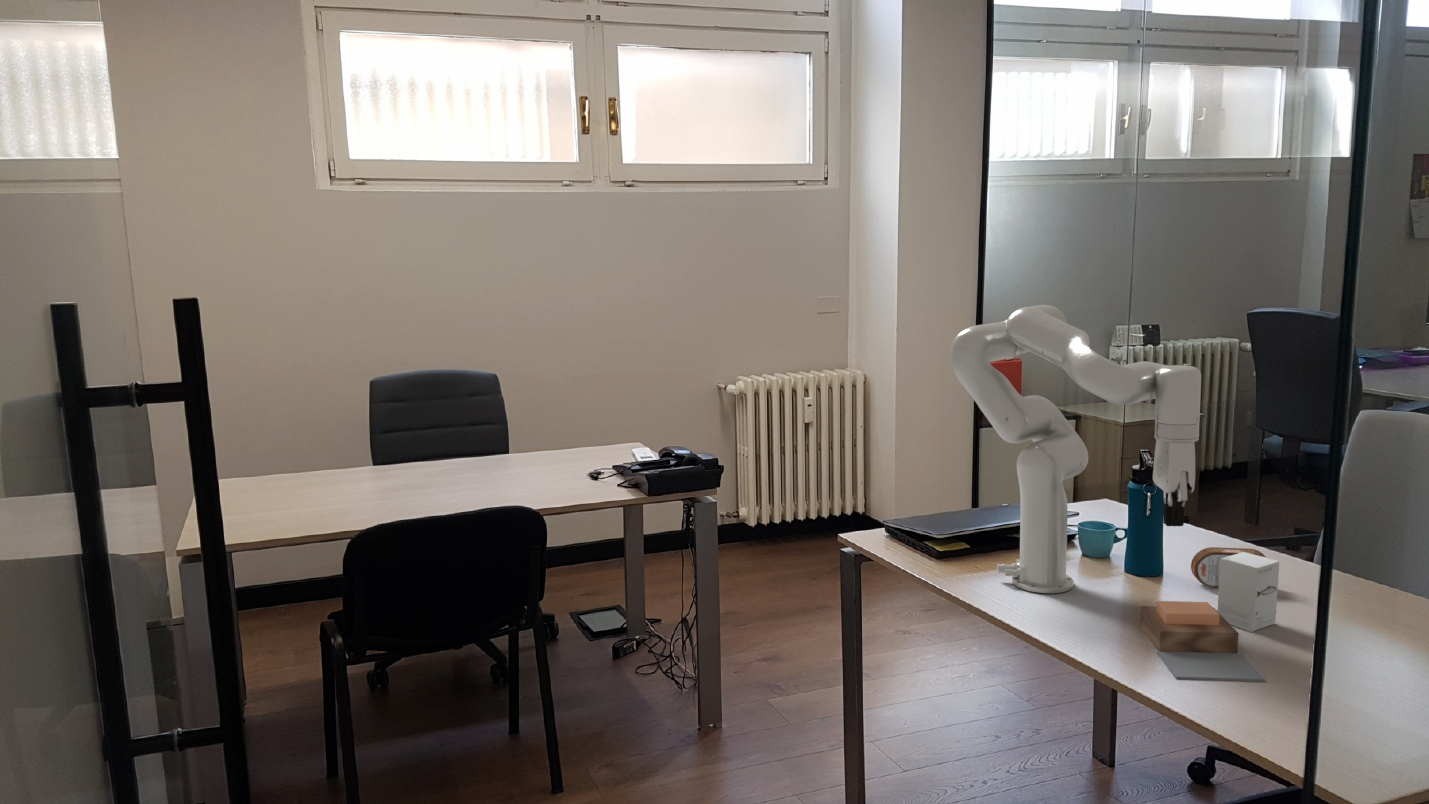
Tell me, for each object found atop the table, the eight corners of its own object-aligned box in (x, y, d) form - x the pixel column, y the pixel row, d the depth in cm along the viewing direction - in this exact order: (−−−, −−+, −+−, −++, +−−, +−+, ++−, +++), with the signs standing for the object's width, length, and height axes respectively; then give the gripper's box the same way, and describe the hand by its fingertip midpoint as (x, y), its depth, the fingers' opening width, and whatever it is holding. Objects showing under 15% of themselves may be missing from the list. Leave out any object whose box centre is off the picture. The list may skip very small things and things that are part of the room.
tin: (1266, 585, 198) (1269, 547, 197) (1272, 591, 195) (1274, 552, 193) (1189, 583, 201) (1191, 545, 200) (1193, 588, 198) (1195, 550, 197)
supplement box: (1252, 633, 175) (1256, 568, 173) (1215, 619, 182) (1218, 557, 180) (1277, 624, 178) (1281, 560, 176) (1239, 611, 185) (1243, 550, 183)
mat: (1175, 678, 158) (1175, 676, 158) (1157, 653, 168) (1157, 651, 168) (1265, 681, 156) (1265, 679, 156) (1241, 655, 166) (1241, 653, 166)
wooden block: (1159, 652, 168) (1160, 631, 168) (1140, 625, 180) (1140, 605, 180) (1237, 654, 166) (1238, 633, 166) (1212, 627, 178) (1213, 607, 178)
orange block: (1166, 623, 171) (1166, 613, 171) (1155, 611, 177) (1156, 600, 176) (1219, 624, 170) (1219, 614, 169) (1207, 612, 175) (1207, 601, 175)
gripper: (1144, 424, 185) (1141, 514, 188) (1168, 439, 171) (1164, 536, 174) (1184, 423, 184) (1181, 514, 187) (1212, 438, 170) (1208, 536, 173)
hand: (1173, 524), depth 180 cm, fingers closed
